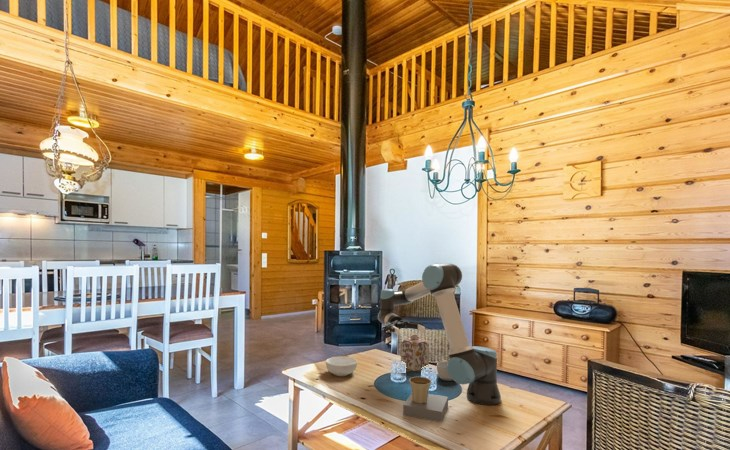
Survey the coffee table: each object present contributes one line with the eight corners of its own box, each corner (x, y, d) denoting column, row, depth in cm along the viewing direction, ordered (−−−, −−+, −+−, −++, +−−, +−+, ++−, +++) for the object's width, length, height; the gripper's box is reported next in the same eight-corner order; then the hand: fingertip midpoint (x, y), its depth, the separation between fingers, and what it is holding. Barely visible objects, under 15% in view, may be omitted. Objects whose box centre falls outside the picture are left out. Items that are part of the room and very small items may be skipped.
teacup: (457, 383, 195) (458, 367, 195) (436, 381, 197) (436, 366, 197) (456, 374, 209) (457, 359, 209) (436, 372, 211) (436, 357, 211)
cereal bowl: (363, 374, 206) (363, 361, 206) (339, 381, 195) (339, 367, 195) (342, 366, 218) (343, 353, 219) (319, 373, 207) (319, 359, 207)
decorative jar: (400, 366, 221) (400, 334, 221) (414, 362, 228) (415, 332, 228) (414, 372, 211) (415, 339, 212) (429, 368, 218) (429, 336, 219)
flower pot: (429, 396, 168) (429, 376, 169) (432, 405, 159) (433, 384, 159) (407, 396, 168) (408, 376, 169) (410, 405, 159) (410, 384, 159)
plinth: (447, 406, 168) (448, 396, 168) (441, 421, 153) (441, 411, 153) (412, 400, 174) (412, 391, 174) (403, 414, 159) (403, 405, 159)
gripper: (415, 327, 204) (435, 337, 184) (371, 330, 196) (387, 340, 176) (415, 313, 204) (435, 321, 184) (371, 315, 196) (387, 324, 176)
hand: (411, 331), depth 180 cm, fingers open, 13 cm apart
